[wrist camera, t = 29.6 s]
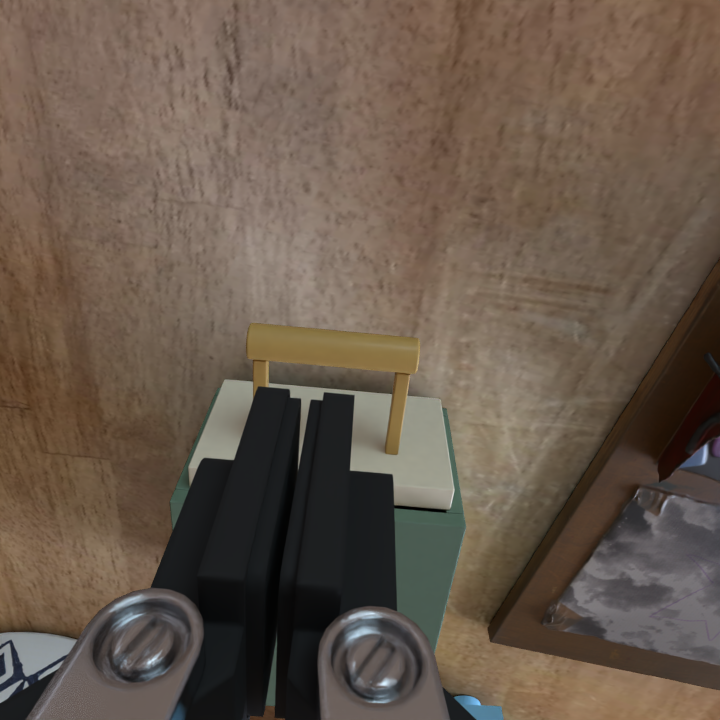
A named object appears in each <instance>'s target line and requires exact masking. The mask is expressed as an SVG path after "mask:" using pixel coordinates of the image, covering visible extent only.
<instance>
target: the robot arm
mask: <svg viewBox="0 0 720 720" xmlns="http://www.w3.org/2000/svg"><path fill="white" fill-rule="evenodd" d="M354 400H355V395H350V394H339V393H328V392H324V394H323V400H313V399H311V401H310V406H309V412H308V417H307V423H306V429H305V434H304V440H303V446H302V452H301V457H300V463H299V469H298V461H299V440H300V420H301V398H291V397H290V389H284V388H273V387H262V386H258V387H257V390H256V392H255V396H254V399H253V402H252V405H251V408H250V411H249V414H248V418H247V421H246V424H245V427H244V430H243V433H242V436H241V439H240V443H239V446H238V449H237V452H236V455H235V458H234V460H226V459H215V458H203V459H202V460H201V462H200V464H199V466H198V468H197V471H196V473H195V476H194V478H193V481H192V483H191V486H190V488H189V491H188V493H187V496H186V499H185V501H184V504H183V506H182V509H181V511H180V514H179V516H178V519H177V522H176V524H175V527H174V529H173V532H172V534H171V537H170V539H169V542H168V544H167V547H166V550H165V552H164V555H163V557H162V560H161V562H160V565H159V567H158V570H157V572H156V575H155V578H154V580H153V583H152V585H151V588H149V589H143V590H137V591H133V592H130V593H128V594H126V595H123V596H121V597H119V598H116V599H115V600H113V601H112V602H111V603H109V604H108V605H106V606H105V607H104V608H102V609H101V610H100V611H99V612H98V613H97V614H96V615H95V616H94V618H93V619H92V620H91V621H90V622H89V623H88V625H87V626H86V628H85V629H84V631H83V632H82V634H81V635H80V637H79V638H78V640H77V641H76V643H75V644H74V646H73V648H72V649H71V651H70V652H69V654H68V655H67V657H66V658H65V660H64V661H63V663H62V664H61V666H60V667H59V669H57V670H55V671H53V672H52V673H50V674H48V675H47V676H45V677H43V678H42V679H40V680H38V681H37V682H35V683H33V684H31V685H30V686H28V687H26V688H25V689H23V690H21V691H20V692H18V693H16V694H15V695H13V696H11V697H10V698H8V699H6V700H4V701H3V702H1V703H0V720H249V718H250V716H261V717H263V715H264V711H265V705H266V699H267V693H268V687H269V681H270V675H271V669H272V663H273V656H274V650H275V644H276V638H277V657H276V688H275V718H285V720H476V719H475V718H474V717H473V716H472V715H471V714H470V713H469V712H468V711H467V710H466V709H465V708H464V707H463V706H462V705H461V704H460V703H459V702H458V701H457V700H456V699H455V698H454V697H453V696H452V695H451V694H450V693H448V692H447V691H446V690H445V689H444V688H443V687H442V684H441V680H440V676H439V672H438V667H437V663H436V659H435V655H434V652H433V650H432V647H431V645H430V642H429V640H428V637H427V636H426V635H425V634H424V632H423V631H422V630H421V629H420V627H419V626H418V625H417V624H416V623H415V622H413V621H412V620H411V619H409V618H408V617H406V616H405V615H404V614H402V613H400V612H397V587H396V551H395V516H394V482H393V475H392V474H385V473H374V472H362V471H351V470H350V462H351V446H352V431H353V415H354Z"/></svg>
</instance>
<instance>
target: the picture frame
mask: <svg viewBox="0 0 720 720" xmlns="http://www.w3.org/2000/svg"><path fill="white" fill-rule="evenodd" d="M488 633H489V639H490V642H492V643H497V644H502V645H506V646H511V647H516V648H521V649H526V650H530V651H535V652H540V653H544V654H549V655H554V656H559V657H564V658H568V659H573V660H578V661H583V662H587V663H592V664H597V665H602V666H607V667H611V668H616V669H621V670H626V671H631V672H635V673H640V674H645V675H651V676H656V677H661V678H665V679H670V680H675V681H679V682H683V683H688V684H692V685H697V686H701V687H706V688H711V689H716V690H720V258H719V260H718V262H717V263H716V265H715V266H714V268H713V270H712V271H711V273H710V275H709V276H708V277H707V279H706V281H705V282H704V283H703V285H702V287H701V288H700V290H699V292H698V293H697V295H696V297H695V298H694V300H693V302H692V303H691V305H690V307H689V308H688V310H687V311H686V312H685V314H684V316H683V317H682V319H681V320H680V322H679V323H678V325H677V327H676V328H675V330H674V332H673V333H672V336H671V337H670V338H669V340H668V342H667V343H666V345H665V346H664V348H663V349H662V350H661V352H660V354H659V356H658V357H657V359H656V360H655V362H654V364H653V365H652V367H651V369H650V370H649V372H648V374H647V375H646V376H645V378H644V380H643V381H642V383H641V384H640V386H639V387H638V389H637V391H636V393H635V394H634V396H633V398H632V399H631V401H630V403H629V404H628V406H627V407H626V408H625V410H624V412H623V413H622V415H621V416H620V418H619V419H618V421H617V423H616V425H615V426H614V428H613V429H612V431H611V433H610V434H609V436H608V437H607V439H606V440H605V442H604V444H603V445H602V447H601V449H600V450H599V452H598V453H597V455H596V457H595V458H594V460H593V461H592V463H591V465H590V466H589V467H588V469H587V471H586V472H585V474H584V476H583V477H582V479H581V481H580V482H579V484H578V485H577V487H576V488H575V490H574V492H573V493H572V495H571V497H570V498H569V500H568V501H567V503H566V505H565V506H564V508H563V509H562V511H561V512H560V514H559V515H558V517H557V519H556V521H555V522H554V523H553V525H552V527H551V528H550V530H549V531H548V533H547V535H546V536H545V538H544V539H543V541H542V542H541V544H540V546H539V547H538V549H537V551H536V552H535V553H534V555H533V557H532V558H531V560H530V562H529V563H528V565H527V567H526V568H525V570H524V572H523V573H522V575H521V576H520V578H519V579H518V581H517V583H516V584H515V586H514V587H513V589H512V591H511V592H510V594H509V595H508V597H507V598H506V600H505V602H504V603H503V605H502V606H501V608H500V609H499V610H498V612H497V614H496V616H495V617H494V619H493V620H492V622H491V624H490V625H489V627H488Z"/></svg>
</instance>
